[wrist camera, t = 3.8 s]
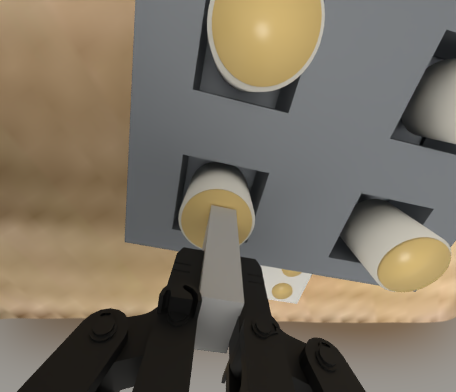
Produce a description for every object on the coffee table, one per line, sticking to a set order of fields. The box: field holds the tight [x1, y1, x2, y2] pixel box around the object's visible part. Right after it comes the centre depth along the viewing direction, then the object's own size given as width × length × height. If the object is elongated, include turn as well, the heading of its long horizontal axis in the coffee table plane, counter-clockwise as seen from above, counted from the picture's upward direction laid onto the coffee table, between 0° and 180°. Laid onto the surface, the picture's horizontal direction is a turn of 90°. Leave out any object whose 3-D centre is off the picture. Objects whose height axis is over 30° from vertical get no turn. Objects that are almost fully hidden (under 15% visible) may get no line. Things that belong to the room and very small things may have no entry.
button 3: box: [340, 199, 451, 292], centre depth 17 cm, size 5×5×5 cm
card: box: [260, 265, 312, 304], centre depth 25 cm, size 10×7×1 cm
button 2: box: [207, 0, 325, 92], centre depth 11 cm, size 5×5×5 cm
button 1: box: [178, 162, 255, 249], centre depth 16 cm, size 5×5×5 cm
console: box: [125, 0, 456, 292], centre depth 17 cm, size 26×20×5 cm
